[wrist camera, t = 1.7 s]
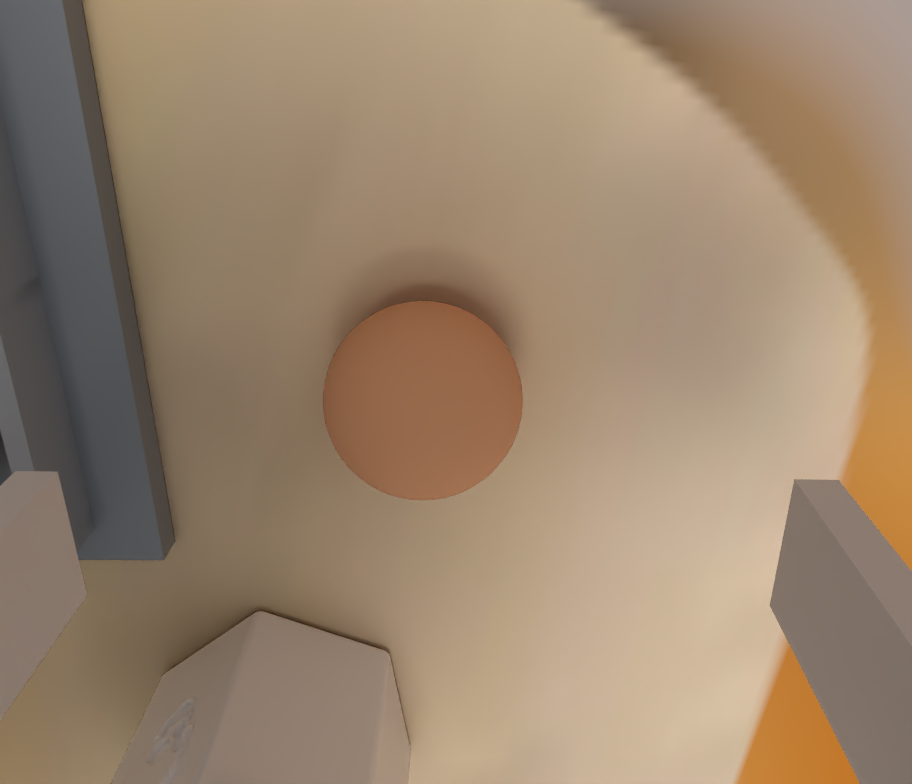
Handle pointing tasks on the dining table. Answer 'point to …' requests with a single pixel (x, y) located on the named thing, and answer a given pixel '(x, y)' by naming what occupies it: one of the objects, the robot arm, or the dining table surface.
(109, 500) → the rack
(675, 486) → the dining table surface
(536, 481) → the dining table surface
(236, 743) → the jar
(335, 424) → the ball
